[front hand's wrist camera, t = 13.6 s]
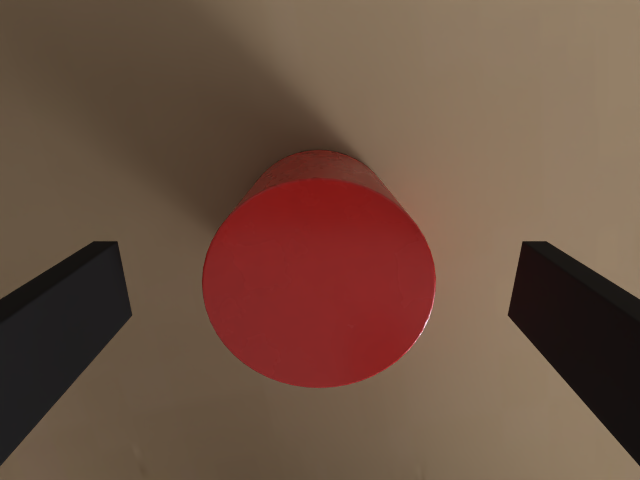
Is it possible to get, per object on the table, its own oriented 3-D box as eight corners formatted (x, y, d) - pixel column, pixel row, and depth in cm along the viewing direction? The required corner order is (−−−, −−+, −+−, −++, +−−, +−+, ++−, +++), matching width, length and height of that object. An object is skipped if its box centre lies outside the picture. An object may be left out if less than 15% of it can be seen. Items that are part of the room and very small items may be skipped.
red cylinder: (213, 227, 18) (154, 296, 12) (317, 114, 17) (316, 121, 10) (320, 318, 20) (321, 422, 14) (424, 224, 18) (484, 292, 12)
